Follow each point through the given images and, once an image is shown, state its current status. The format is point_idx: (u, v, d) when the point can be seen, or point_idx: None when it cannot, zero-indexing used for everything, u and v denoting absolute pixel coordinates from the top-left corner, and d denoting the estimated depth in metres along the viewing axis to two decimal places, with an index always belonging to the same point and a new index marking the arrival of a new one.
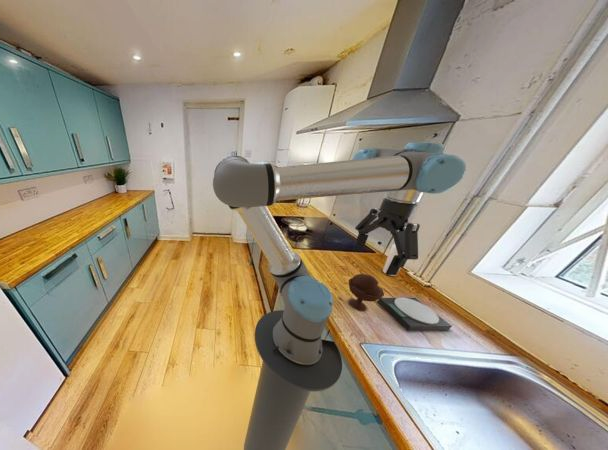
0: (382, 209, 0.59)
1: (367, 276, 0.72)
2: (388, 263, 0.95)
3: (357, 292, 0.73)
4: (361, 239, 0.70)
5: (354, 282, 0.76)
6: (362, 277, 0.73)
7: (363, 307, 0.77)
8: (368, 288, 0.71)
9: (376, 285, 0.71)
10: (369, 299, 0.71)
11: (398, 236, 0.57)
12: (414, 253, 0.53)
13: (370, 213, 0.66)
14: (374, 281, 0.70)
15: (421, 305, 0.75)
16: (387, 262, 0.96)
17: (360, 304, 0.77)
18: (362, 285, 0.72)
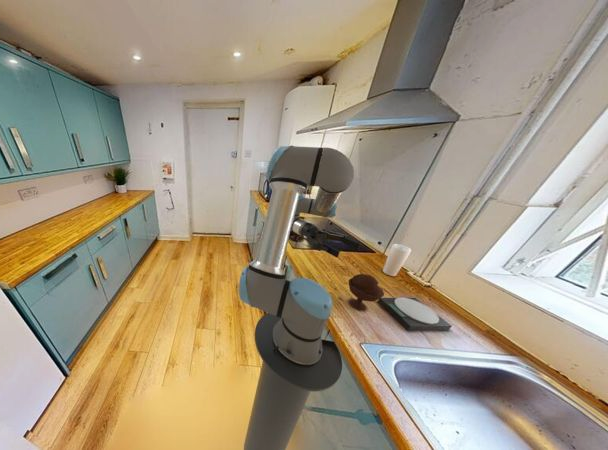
0: (311, 225, 0.91)
1: (367, 276, 0.72)
2: (388, 263, 0.95)
3: (357, 292, 0.73)
4: None
5: (354, 282, 0.76)
6: (362, 277, 0.73)
7: (363, 307, 0.77)
8: (368, 288, 0.71)
9: (376, 285, 0.71)
10: (369, 299, 0.71)
11: None
12: None
13: (307, 235, 0.87)
14: (374, 281, 0.70)
15: (421, 305, 0.75)
16: (387, 262, 0.96)
17: (360, 304, 0.77)
18: (362, 285, 0.72)
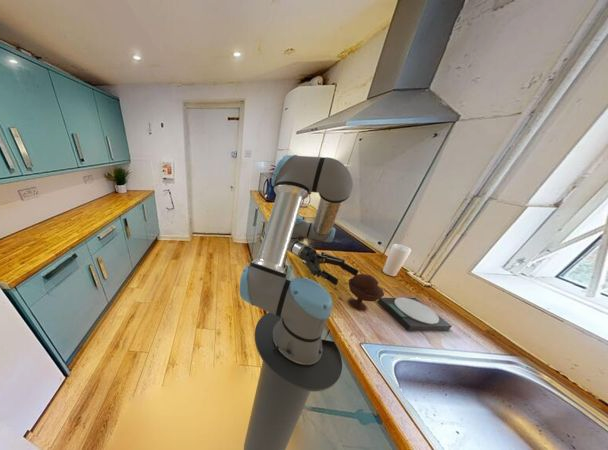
0: (310, 249, 0.94)
1: (367, 276, 0.72)
2: (388, 263, 0.95)
3: (357, 292, 0.73)
4: None
5: (354, 282, 0.76)
6: (362, 277, 0.73)
7: (363, 307, 0.77)
8: (368, 288, 0.71)
9: (376, 285, 0.71)
10: (369, 299, 0.71)
11: None
12: None
13: (307, 260, 0.90)
14: (374, 281, 0.70)
15: (421, 305, 0.75)
16: (387, 262, 0.96)
17: (360, 304, 0.77)
18: (362, 285, 0.72)
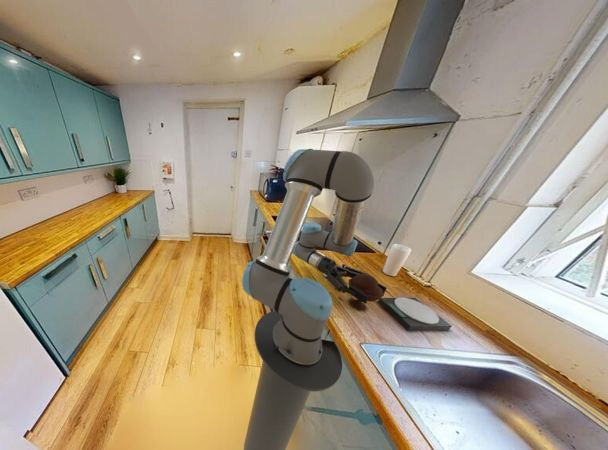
0: (330, 260, 0.86)
1: (367, 276, 0.72)
2: (388, 263, 0.95)
3: None
4: None
5: (354, 282, 0.76)
6: (362, 277, 0.73)
7: (363, 307, 0.77)
8: (368, 288, 0.71)
9: (376, 285, 0.70)
10: (369, 299, 0.71)
11: None
12: None
13: (328, 273, 0.81)
14: (374, 281, 0.70)
15: (421, 305, 0.75)
16: (387, 262, 0.96)
17: (360, 304, 0.77)
18: (362, 285, 0.72)
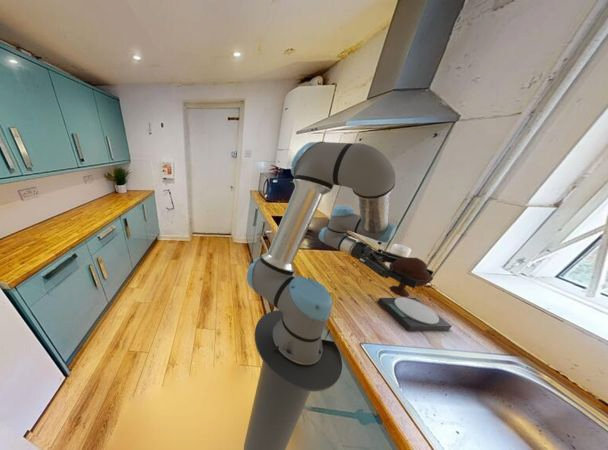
0: (366, 244, 0.79)
1: (414, 259, 0.66)
2: (388, 263, 0.95)
3: None
4: None
5: (397, 266, 0.69)
6: (408, 260, 0.67)
7: (406, 293, 0.71)
8: (416, 271, 0.65)
9: (425, 268, 0.64)
10: (417, 284, 0.65)
11: None
12: None
13: (366, 258, 0.75)
14: (423, 264, 0.64)
15: (421, 305, 0.75)
16: (387, 262, 0.96)
17: (403, 290, 0.71)
18: (409, 268, 0.66)
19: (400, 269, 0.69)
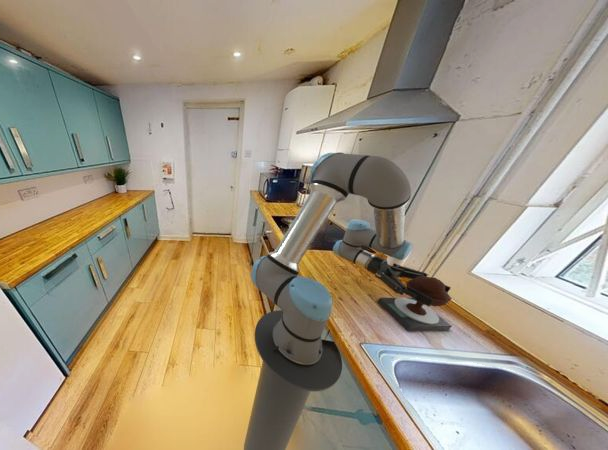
0: (382, 260, 0.80)
1: (432, 279, 0.67)
2: (388, 263, 0.95)
3: None
4: None
5: (415, 285, 0.70)
6: (426, 280, 0.67)
7: (424, 312, 0.71)
8: (434, 292, 0.66)
9: (443, 288, 0.65)
10: (435, 304, 0.66)
11: None
12: None
13: (382, 273, 0.76)
14: (441, 284, 0.65)
15: None
16: (387, 262, 0.96)
17: (420, 308, 0.72)
18: (427, 288, 0.67)
19: (418, 288, 0.70)
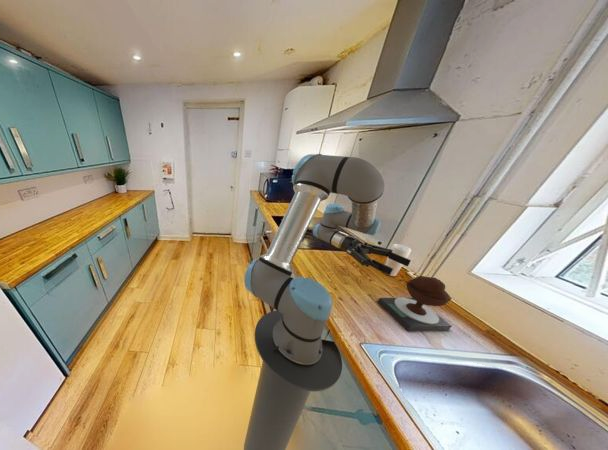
0: (354, 238, 0.89)
1: (432, 279, 0.67)
2: (388, 263, 0.95)
3: (421, 296, 0.68)
4: None
5: (415, 285, 0.70)
6: (426, 280, 0.67)
7: (424, 312, 0.71)
8: (434, 292, 0.66)
9: (443, 288, 0.65)
10: (435, 304, 0.66)
11: None
12: None
13: (352, 249, 0.85)
14: (441, 284, 0.65)
15: None
16: (387, 262, 0.96)
17: (420, 308, 0.72)
18: (427, 288, 0.67)
19: (418, 288, 0.70)
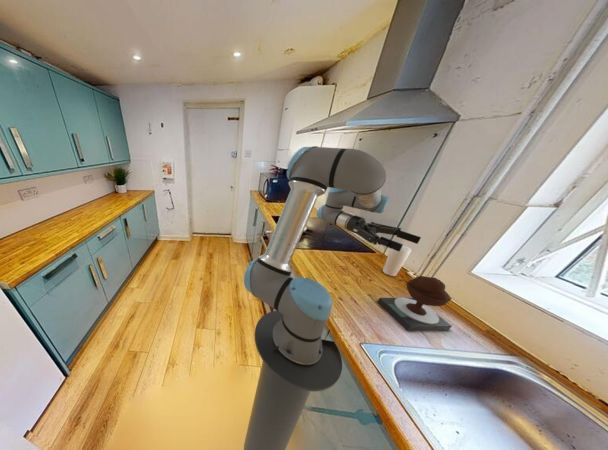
0: (360, 217, 0.85)
1: (432, 279, 0.67)
2: (388, 263, 0.95)
3: (421, 296, 0.68)
4: None
5: (415, 285, 0.70)
6: (426, 280, 0.67)
7: (424, 312, 0.71)
8: (434, 292, 0.66)
9: (443, 288, 0.65)
10: (435, 304, 0.66)
11: None
12: None
13: (358, 228, 0.81)
14: (441, 284, 0.65)
15: None
16: (387, 262, 0.96)
17: (420, 308, 0.72)
18: (427, 288, 0.67)
19: (418, 288, 0.70)
